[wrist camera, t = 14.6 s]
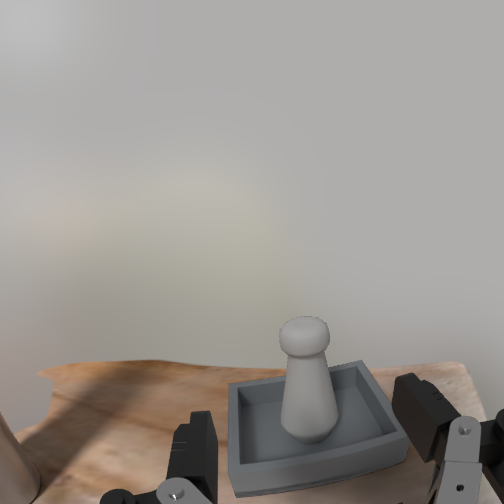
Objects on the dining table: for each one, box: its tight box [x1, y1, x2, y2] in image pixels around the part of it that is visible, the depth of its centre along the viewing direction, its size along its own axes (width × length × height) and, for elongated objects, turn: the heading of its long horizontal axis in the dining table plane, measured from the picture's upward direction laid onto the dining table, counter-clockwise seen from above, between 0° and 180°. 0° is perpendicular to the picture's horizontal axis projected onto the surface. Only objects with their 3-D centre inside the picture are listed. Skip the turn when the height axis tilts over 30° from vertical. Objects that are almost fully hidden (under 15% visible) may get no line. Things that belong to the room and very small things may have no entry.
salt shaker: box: [279, 316, 339, 445], centre depth 28 cm, size 6×6×13 cm
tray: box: [228, 360, 410, 498], centre depth 29 cm, size 16×14×4 cm
